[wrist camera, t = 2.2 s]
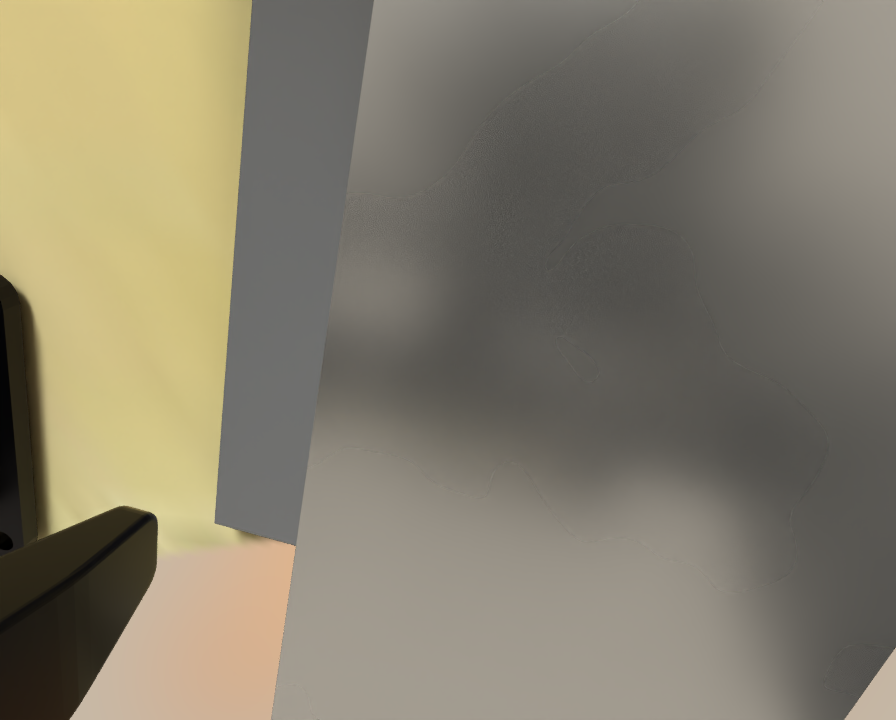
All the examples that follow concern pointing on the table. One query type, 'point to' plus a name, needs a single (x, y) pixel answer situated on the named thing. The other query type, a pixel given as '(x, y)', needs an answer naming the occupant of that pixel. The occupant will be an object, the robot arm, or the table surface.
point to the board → (286, 251)
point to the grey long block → (607, 369)
